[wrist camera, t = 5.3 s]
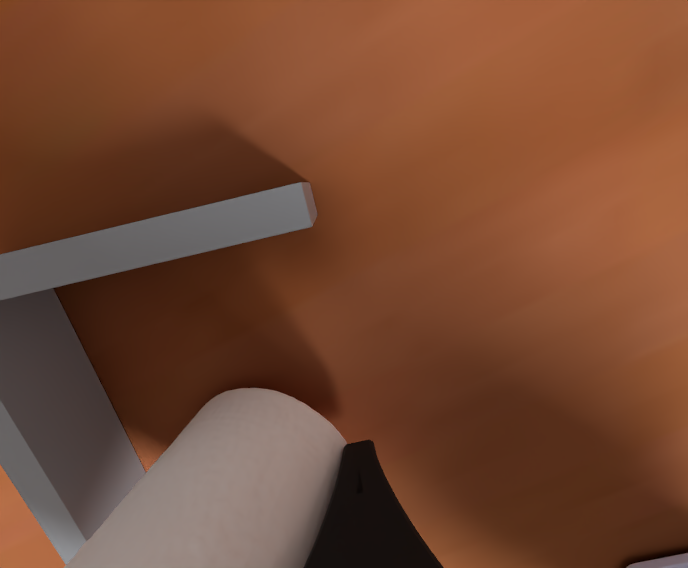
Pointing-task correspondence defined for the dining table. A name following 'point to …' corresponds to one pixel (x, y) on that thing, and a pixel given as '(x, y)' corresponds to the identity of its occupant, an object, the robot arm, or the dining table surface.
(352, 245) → the dining table surface
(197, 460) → the white rounded-top container
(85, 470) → the box
